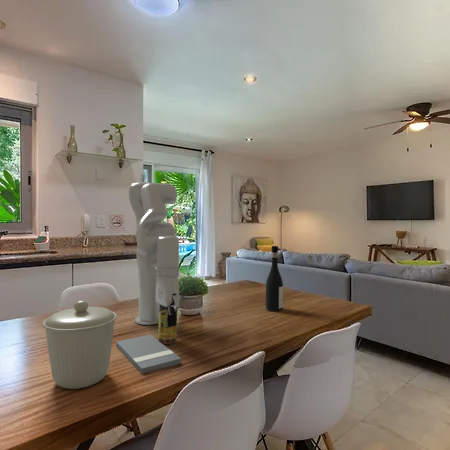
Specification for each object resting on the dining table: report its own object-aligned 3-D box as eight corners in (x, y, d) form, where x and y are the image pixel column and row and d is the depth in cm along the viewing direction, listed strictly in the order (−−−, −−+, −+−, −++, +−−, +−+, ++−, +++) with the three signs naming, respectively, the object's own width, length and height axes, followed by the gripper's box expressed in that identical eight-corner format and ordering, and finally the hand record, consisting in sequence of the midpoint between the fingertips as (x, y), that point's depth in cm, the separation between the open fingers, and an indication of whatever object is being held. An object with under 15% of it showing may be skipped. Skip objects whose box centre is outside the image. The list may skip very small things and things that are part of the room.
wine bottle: (282, 307, 161) (282, 245, 161) (283, 312, 153) (284, 247, 153) (265, 307, 162) (266, 245, 161) (265, 311, 154) (266, 246, 153)
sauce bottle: (158, 346, 112) (158, 287, 112) (157, 339, 118) (157, 283, 118) (178, 344, 114) (178, 286, 114) (176, 337, 120) (176, 282, 120)
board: (116, 345, 112) (116, 341, 112) (150, 338, 119) (150, 334, 119) (141, 373, 92) (141, 368, 92) (180, 363, 99) (180, 358, 99)
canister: (81, 404, 77) (81, 313, 77) (26, 389, 84) (25, 305, 83) (130, 371, 94) (130, 296, 94) (81, 360, 101) (81, 291, 100)
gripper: (148, 269, 121) (148, 318, 121) (168, 276, 106) (168, 332, 107) (167, 267, 125) (167, 315, 125) (189, 274, 111) (189, 328, 111)
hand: (167, 322), depth 116 cm, fingers closed on sauce bottle, 6 cm apart
